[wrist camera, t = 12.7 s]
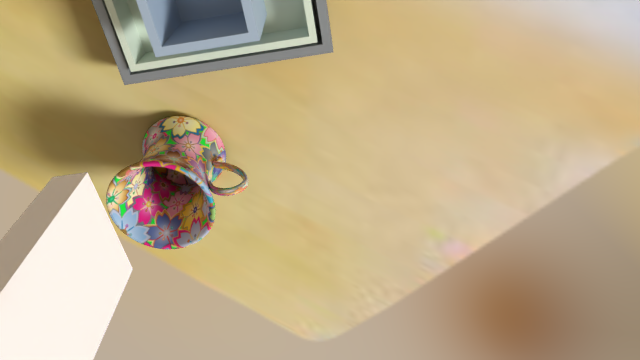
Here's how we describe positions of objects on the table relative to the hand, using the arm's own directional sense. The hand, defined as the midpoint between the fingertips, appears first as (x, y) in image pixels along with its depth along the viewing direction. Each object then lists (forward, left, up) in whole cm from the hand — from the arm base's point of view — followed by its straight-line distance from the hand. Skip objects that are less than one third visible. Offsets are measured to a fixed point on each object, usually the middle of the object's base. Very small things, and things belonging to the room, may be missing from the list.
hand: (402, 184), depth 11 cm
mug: (+17, -17, -37) cm, 44 cm away
